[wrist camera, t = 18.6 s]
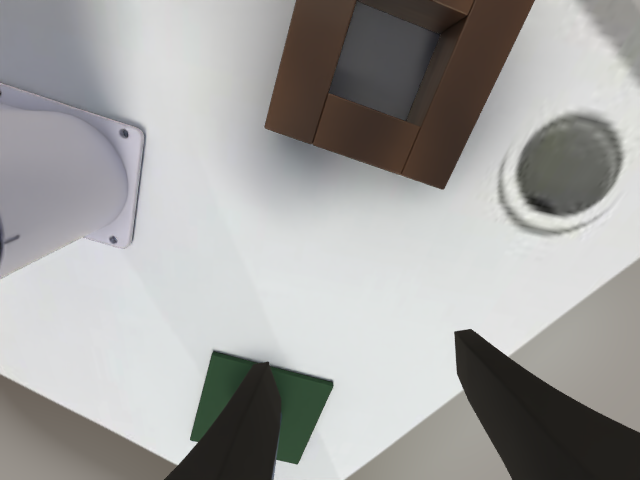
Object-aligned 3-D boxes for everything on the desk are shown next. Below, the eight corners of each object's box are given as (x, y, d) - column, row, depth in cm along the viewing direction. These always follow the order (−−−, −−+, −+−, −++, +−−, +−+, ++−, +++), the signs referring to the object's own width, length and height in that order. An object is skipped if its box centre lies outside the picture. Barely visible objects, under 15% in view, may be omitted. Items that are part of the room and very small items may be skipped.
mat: (191, 436, 28) (189, 440, 28) (213, 351, 25) (211, 354, 25) (298, 460, 29) (297, 464, 29) (333, 382, 26) (333, 386, 26)
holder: (273, 126, 19) (263, 128, 16) (326, -78, 15) (328, -129, 12) (424, 178, 20) (444, 190, 17) (504, -1, 16) (549, -30, 13)
